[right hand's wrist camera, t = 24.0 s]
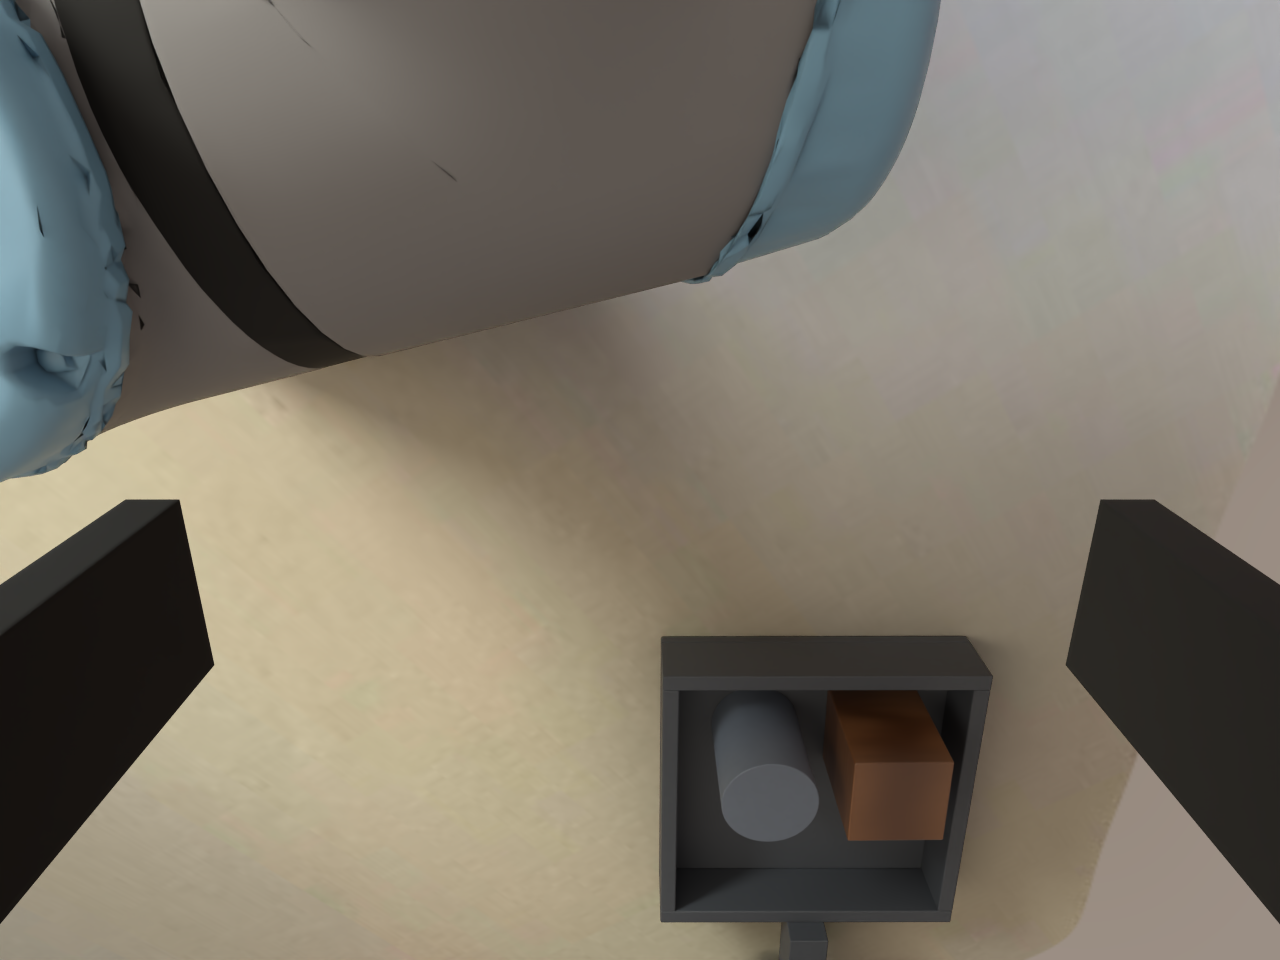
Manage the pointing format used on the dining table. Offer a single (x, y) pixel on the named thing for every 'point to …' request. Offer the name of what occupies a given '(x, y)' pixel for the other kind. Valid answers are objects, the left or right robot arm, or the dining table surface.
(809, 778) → the grey cylinder
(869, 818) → the walnut block
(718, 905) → the tray
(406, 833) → the dining table surface
